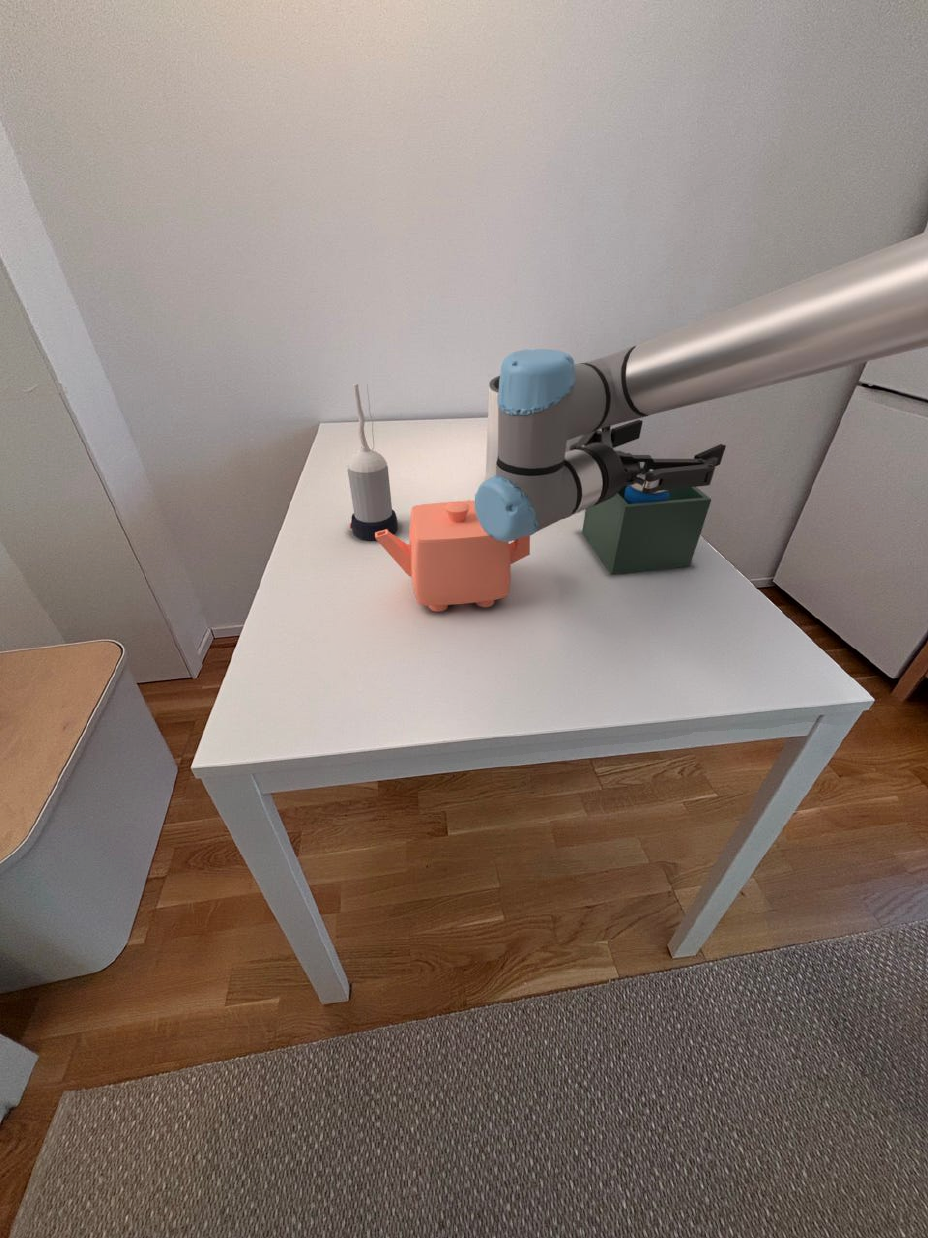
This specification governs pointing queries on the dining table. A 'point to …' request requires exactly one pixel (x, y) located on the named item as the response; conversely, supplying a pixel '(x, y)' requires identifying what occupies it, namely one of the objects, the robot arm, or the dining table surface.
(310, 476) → the dining table surface
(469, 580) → the teapot
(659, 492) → the beverage can
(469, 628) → the dining table surface
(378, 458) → the humidifier
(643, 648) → the dining table surface
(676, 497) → the waste bin
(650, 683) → the dining table surface
